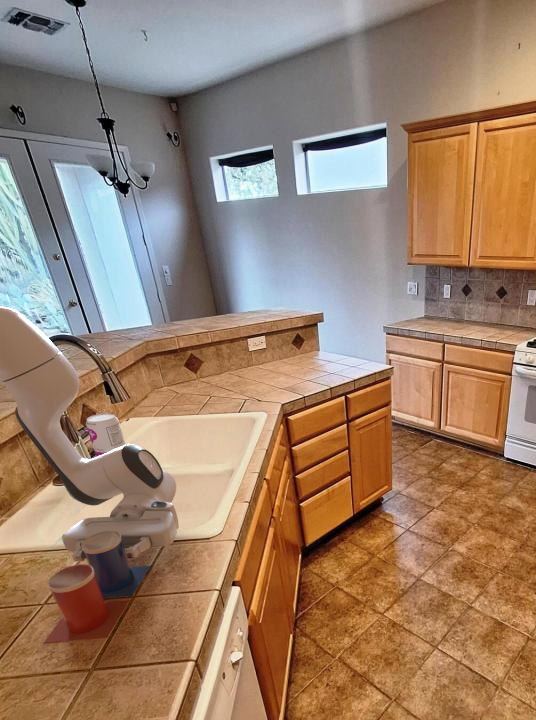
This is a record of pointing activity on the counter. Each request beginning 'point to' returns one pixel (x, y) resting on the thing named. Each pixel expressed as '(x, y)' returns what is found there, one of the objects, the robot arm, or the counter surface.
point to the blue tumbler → (108, 560)
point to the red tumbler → (79, 598)
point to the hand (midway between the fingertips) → (104, 557)
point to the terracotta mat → (102, 631)
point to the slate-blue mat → (130, 589)
